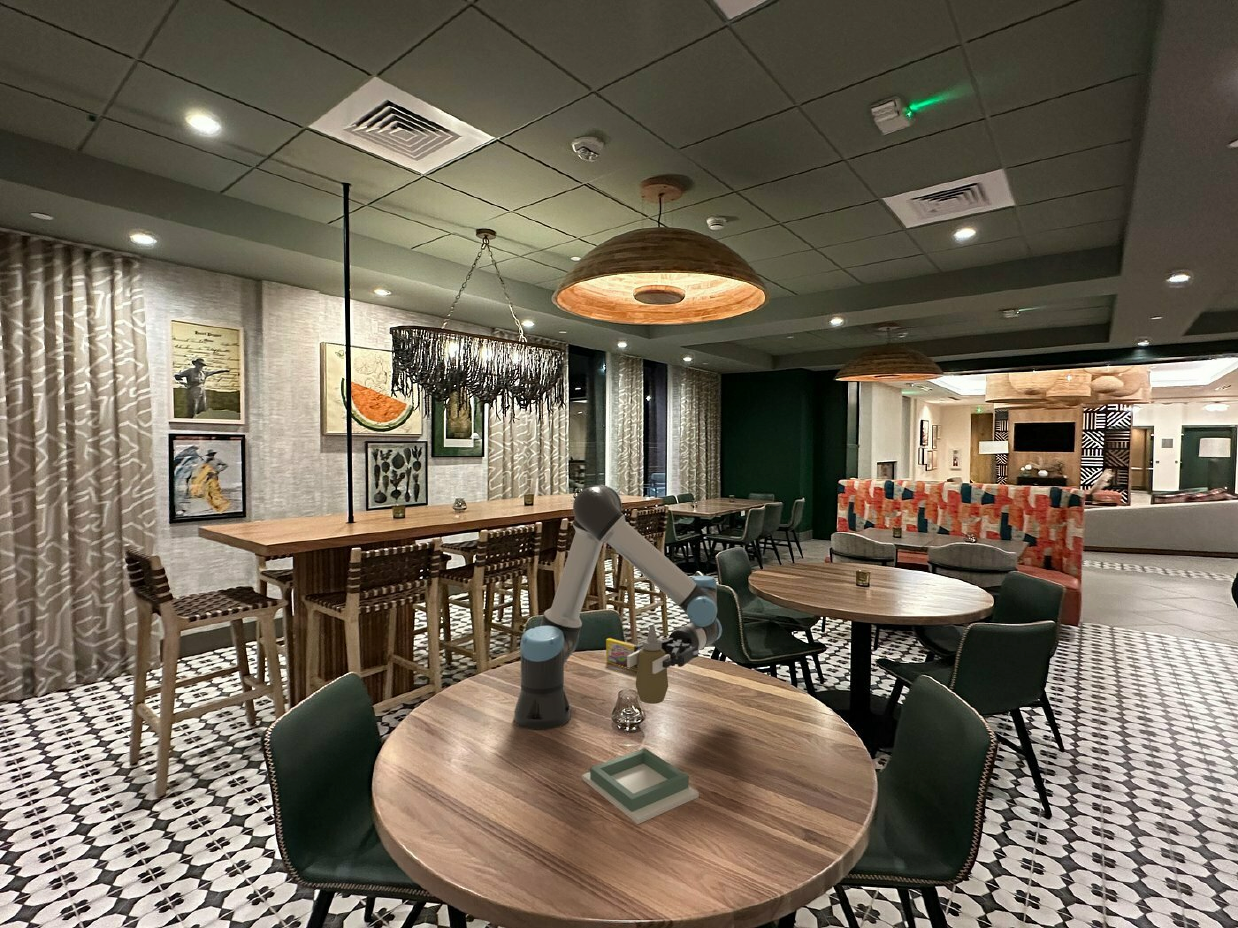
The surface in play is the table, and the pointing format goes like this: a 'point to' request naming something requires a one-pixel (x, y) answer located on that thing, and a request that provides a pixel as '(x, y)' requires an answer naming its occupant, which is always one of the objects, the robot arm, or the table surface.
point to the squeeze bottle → (651, 671)
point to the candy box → (619, 652)
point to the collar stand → (641, 784)
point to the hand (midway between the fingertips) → (641, 664)
